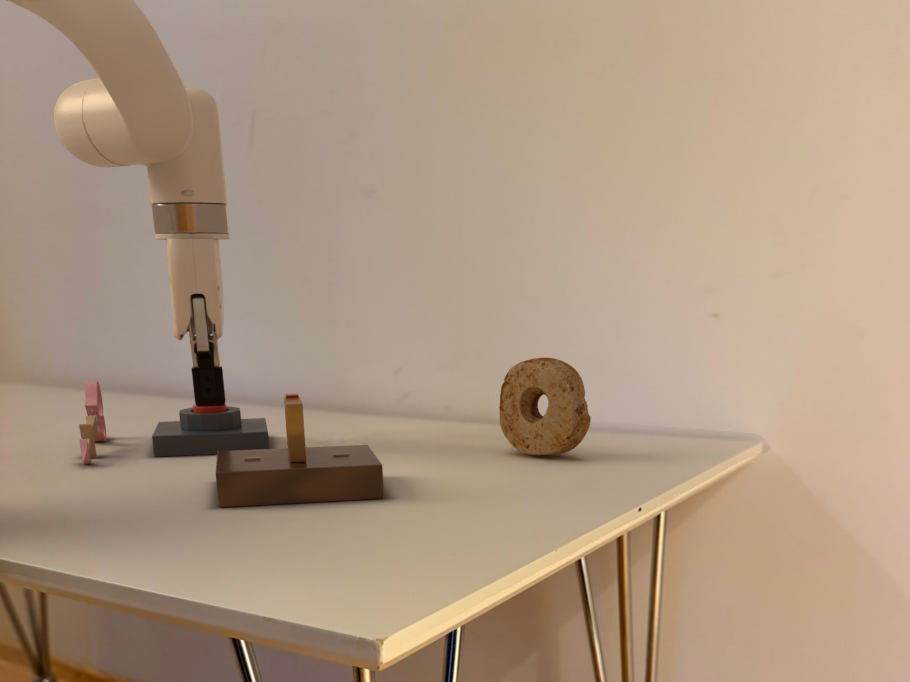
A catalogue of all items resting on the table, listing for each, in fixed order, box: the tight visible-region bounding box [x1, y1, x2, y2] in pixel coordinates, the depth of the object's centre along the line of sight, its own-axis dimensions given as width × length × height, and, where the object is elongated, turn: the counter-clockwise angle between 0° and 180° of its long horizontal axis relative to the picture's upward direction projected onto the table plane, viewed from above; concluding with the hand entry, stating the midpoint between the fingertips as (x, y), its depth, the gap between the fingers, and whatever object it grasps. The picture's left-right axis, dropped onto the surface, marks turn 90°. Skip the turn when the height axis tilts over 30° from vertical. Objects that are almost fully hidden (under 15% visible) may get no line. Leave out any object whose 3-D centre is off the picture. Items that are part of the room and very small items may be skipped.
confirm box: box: [151, 405, 270, 458], centre depth 109 cm, size 12×10×4 cm
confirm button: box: [192, 403, 227, 413], centre depth 109 cm, size 4×4×2 cm
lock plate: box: [215, 444, 385, 508], centre depth 88 cm, size 14×10×3 cm
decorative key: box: [78, 380, 107, 465], centre depth 106 cm, size 7×1×20 cm
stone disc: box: [498, 357, 592, 456], centre depth 103 cm, size 10×4×10 cm, turn 52°
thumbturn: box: [283, 393, 307, 462], centre depth 87 cm, size 5×1×5 cm, turn 13°
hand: (210, 404), depth 108 cm, fingers closed
